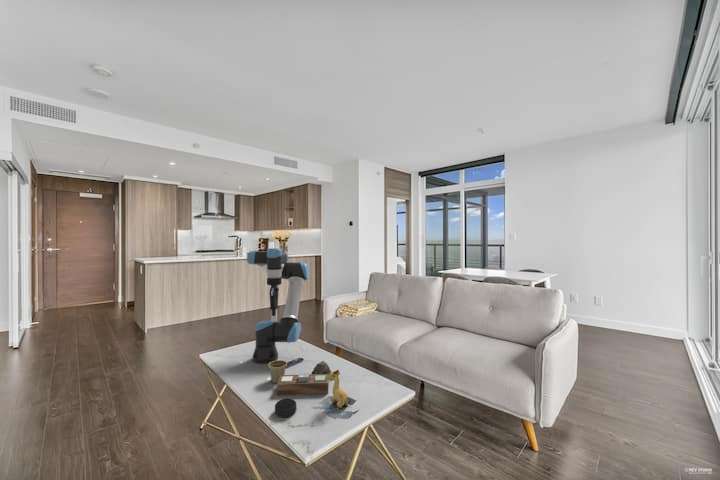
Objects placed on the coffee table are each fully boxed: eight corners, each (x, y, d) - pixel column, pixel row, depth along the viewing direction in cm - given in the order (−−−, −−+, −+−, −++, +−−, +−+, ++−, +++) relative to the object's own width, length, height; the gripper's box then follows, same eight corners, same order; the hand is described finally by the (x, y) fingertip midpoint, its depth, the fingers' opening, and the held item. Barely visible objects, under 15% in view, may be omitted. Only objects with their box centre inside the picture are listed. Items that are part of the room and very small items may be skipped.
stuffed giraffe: (335, 393, 147) (335, 360, 146) (365, 406, 137) (366, 371, 136) (311, 409, 134) (311, 373, 133) (342, 425, 124) (343, 386, 123)
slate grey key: (299, 377, 153) (299, 372, 153) (309, 377, 153) (309, 372, 153) (297, 382, 148) (297, 377, 148) (308, 382, 148) (308, 377, 148)
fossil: (306, 376, 164) (313, 357, 167) (318, 379, 169) (324, 361, 173) (318, 382, 156) (325, 362, 159) (331, 385, 162) (337, 366, 165)
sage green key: (315, 380, 153) (315, 375, 153) (325, 380, 154) (325, 375, 154) (314, 385, 148) (314, 380, 148) (325, 385, 149) (325, 379, 149)
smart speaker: (278, 406, 135) (278, 397, 135) (298, 407, 135) (298, 397, 135) (271, 418, 126) (272, 408, 126) (293, 418, 126) (293, 409, 126)
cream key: (282, 381, 152) (282, 376, 152) (293, 381, 153) (293, 376, 153) (281, 386, 147) (281, 381, 147) (291, 386, 148) (291, 380, 148)
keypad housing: (280, 385, 155) (280, 375, 155) (328, 383, 156) (328, 373, 156) (276, 395, 145) (276, 384, 145) (328, 393, 146) (328, 383, 146)
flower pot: (282, 385, 154) (282, 368, 154) (264, 383, 156) (264, 366, 156) (289, 377, 164) (290, 361, 164) (273, 375, 165) (273, 359, 165)
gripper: (269, 275, 171) (269, 318, 171) (264, 278, 158) (264, 324, 158) (283, 275, 171) (283, 318, 171) (279, 278, 158) (278, 324, 158)
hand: (274, 321), depth 165 cm, fingers closed
